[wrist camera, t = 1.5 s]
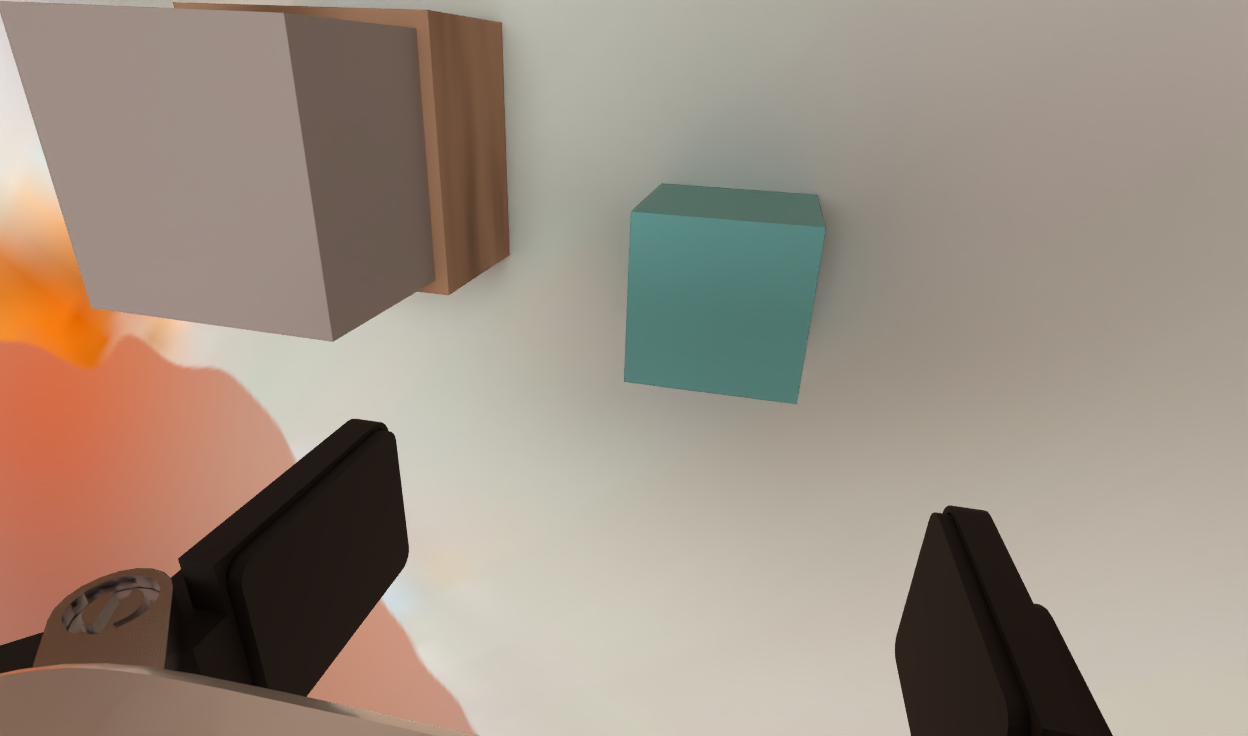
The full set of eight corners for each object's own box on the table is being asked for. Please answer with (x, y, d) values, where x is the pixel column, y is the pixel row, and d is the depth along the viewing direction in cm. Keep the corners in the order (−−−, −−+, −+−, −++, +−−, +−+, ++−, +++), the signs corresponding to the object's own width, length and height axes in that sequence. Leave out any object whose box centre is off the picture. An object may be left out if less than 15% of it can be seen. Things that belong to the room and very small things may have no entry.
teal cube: (816, 194, 25) (825, 227, 20) (794, 339, 28) (796, 404, 22) (662, 182, 26) (630, 211, 21) (653, 323, 29) (624, 381, 23)
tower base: (503, 23, 25) (427, 10, 20) (510, 253, 29) (448, 295, 24) (294, 15, 27) (173, 2, 22) (327, 235, 31) (230, 270, 25)
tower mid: (416, 28, 20) (283, 12, 15) (435, 280, 24) (332, 341, 18) (191, 18, 22) (-4, 0, 16) (239, 257, 25) (91, 307, 20)
